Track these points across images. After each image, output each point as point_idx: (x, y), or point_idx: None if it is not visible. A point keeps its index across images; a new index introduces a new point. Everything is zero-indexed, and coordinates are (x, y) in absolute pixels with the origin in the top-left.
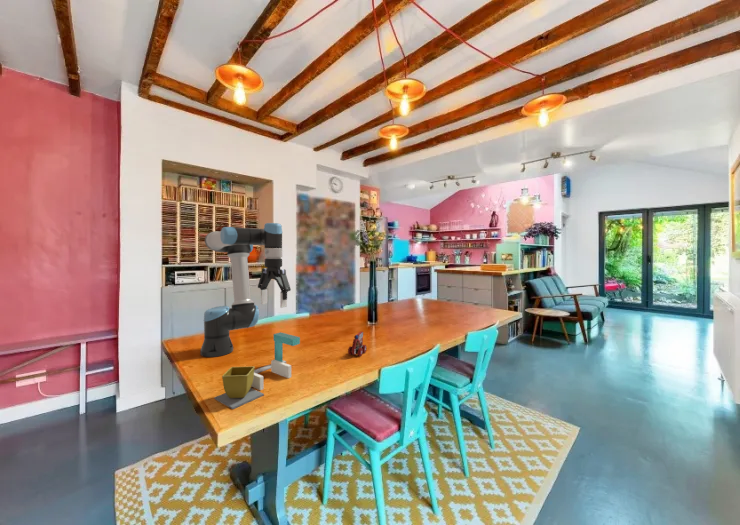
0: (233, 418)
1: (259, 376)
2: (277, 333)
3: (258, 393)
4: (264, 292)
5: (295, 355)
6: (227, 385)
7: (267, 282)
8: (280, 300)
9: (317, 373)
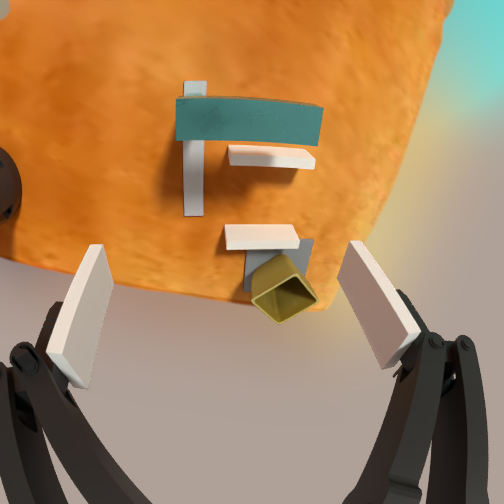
0: (320, 294)
1: (292, 246)
2: (180, 121)
3: (303, 245)
4: (83, 350)
5: (180, 22)
6: (281, 305)
7: (113, 467)
8: (357, 316)
9: (349, 98)
